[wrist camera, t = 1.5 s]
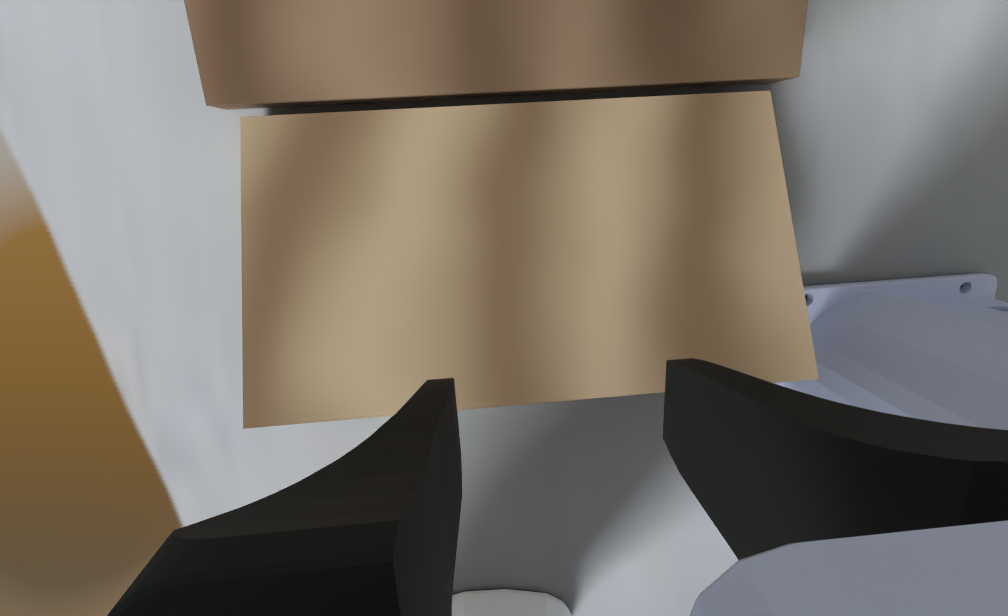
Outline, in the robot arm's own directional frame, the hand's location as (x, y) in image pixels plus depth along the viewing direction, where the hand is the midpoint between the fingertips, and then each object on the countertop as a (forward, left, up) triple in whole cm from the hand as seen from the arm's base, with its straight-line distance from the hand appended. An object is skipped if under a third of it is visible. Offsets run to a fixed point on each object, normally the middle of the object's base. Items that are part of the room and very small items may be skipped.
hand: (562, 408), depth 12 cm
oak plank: (0, -2, -7) cm, 7 cm away
